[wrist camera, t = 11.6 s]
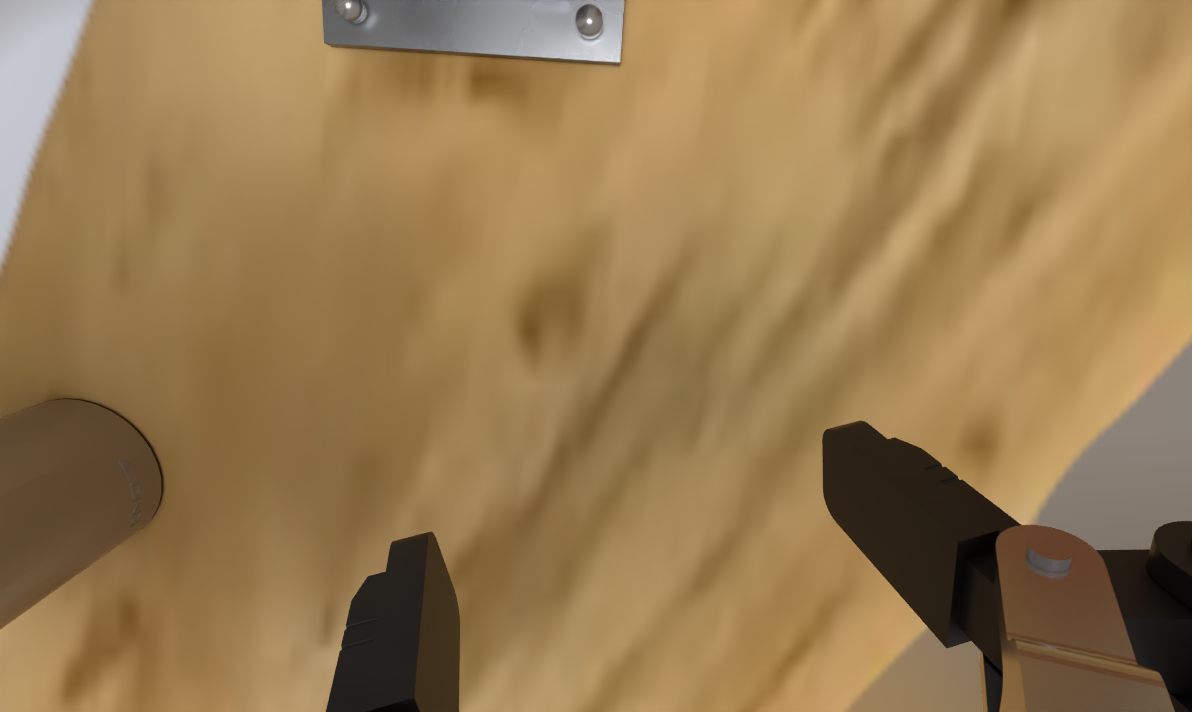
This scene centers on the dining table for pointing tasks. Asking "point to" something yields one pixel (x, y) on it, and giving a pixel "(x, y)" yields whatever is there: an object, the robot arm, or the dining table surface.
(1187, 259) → the dining table surface
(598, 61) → the flange fitting
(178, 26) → the dining table surface
